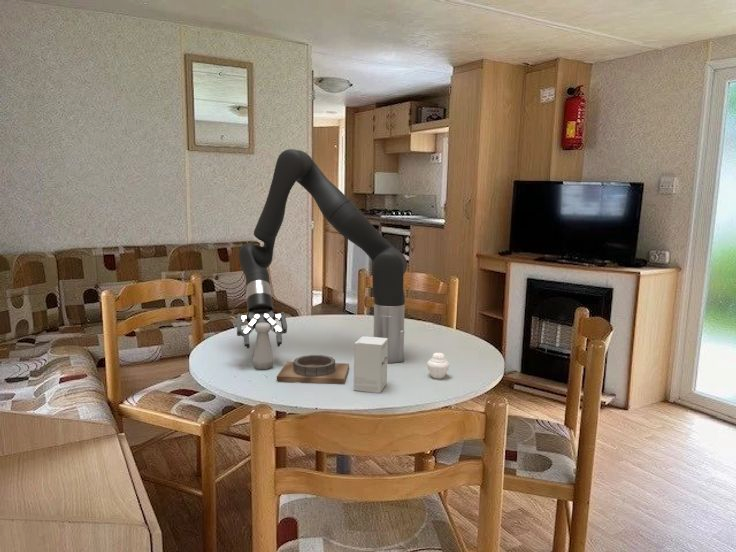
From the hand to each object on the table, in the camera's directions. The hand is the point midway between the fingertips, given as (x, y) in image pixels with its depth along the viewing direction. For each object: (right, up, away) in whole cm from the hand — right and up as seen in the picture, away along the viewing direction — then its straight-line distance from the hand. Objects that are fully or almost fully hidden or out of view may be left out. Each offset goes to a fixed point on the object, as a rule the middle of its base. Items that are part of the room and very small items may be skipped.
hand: (263, 346), depth 151 cm
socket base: (+15, -7, -4) cm, 17 cm away
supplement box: (+30, -9, -12) cm, 34 cm away
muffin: (+49, -8, -4) cm, 50 cm away
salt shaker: (0, -7, +2) cm, 7 cm away
